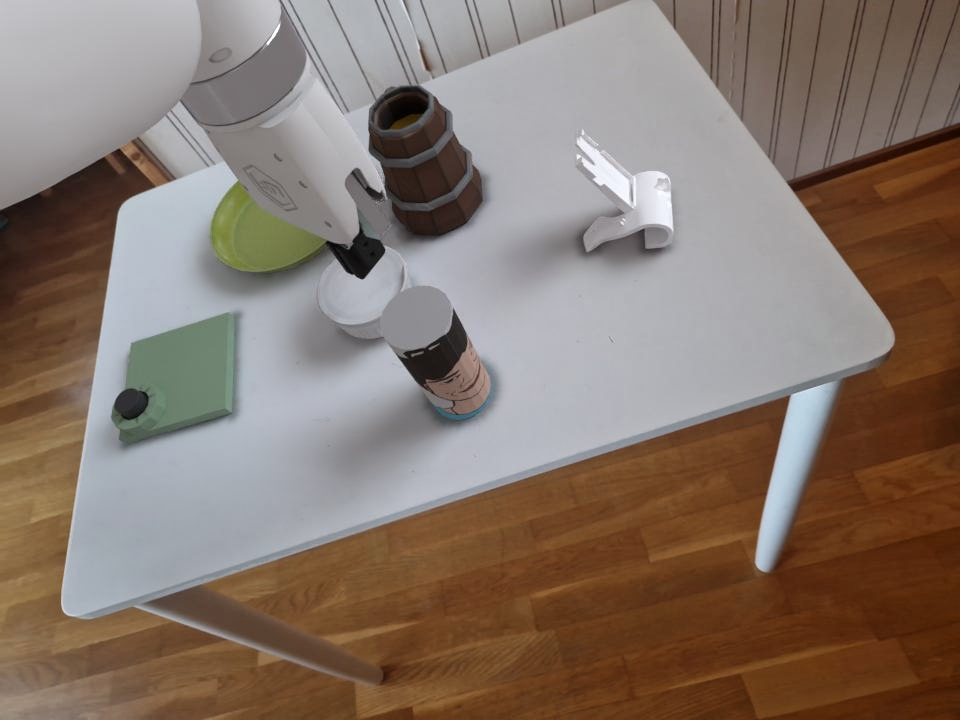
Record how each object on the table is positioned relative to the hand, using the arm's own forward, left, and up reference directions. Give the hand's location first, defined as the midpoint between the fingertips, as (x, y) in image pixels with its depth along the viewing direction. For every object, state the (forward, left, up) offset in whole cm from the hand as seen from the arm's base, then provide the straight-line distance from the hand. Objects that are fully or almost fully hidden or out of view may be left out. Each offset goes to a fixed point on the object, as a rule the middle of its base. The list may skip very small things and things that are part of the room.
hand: (367, 262), depth 53 cm
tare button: (-21, +32, -21) cm, 43 cm away
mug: (+23, +20, -23) cm, 38 cm away
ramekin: (+5, +15, -23) cm, 28 cm away
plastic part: (+28, -6, -23) cm, 37 cm away
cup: (+1, -1, -23) cm, 23 cm away
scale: (-15, +32, -23) cm, 42 cm away
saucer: (+10, +36, -23) cm, 44 cm away
